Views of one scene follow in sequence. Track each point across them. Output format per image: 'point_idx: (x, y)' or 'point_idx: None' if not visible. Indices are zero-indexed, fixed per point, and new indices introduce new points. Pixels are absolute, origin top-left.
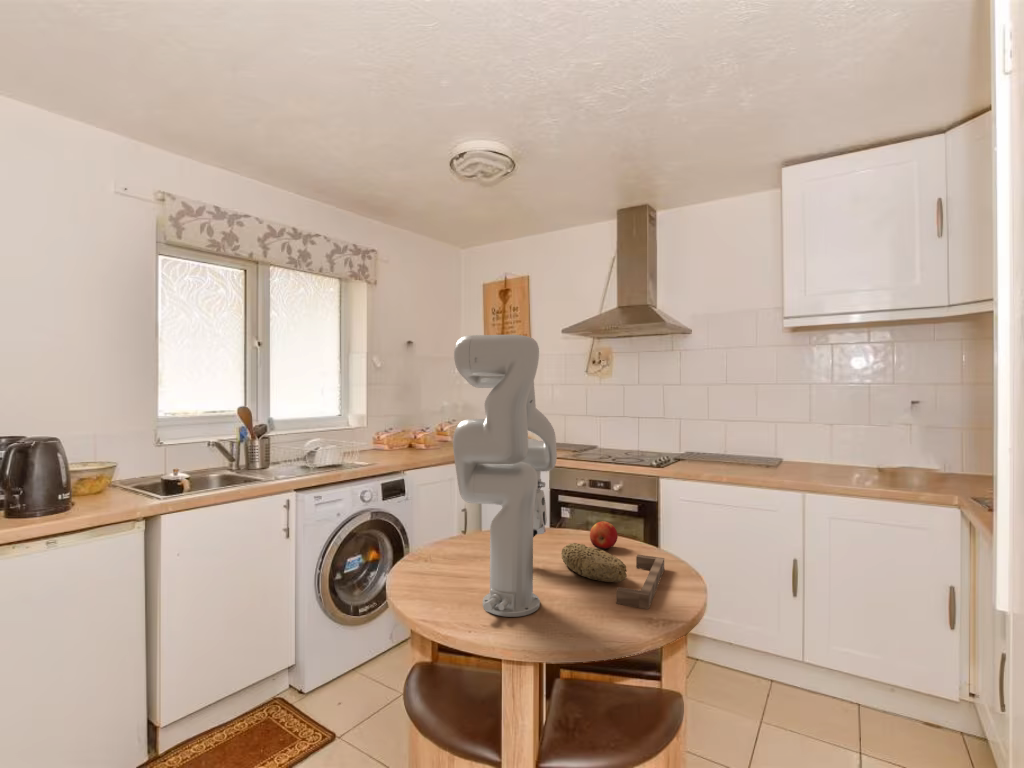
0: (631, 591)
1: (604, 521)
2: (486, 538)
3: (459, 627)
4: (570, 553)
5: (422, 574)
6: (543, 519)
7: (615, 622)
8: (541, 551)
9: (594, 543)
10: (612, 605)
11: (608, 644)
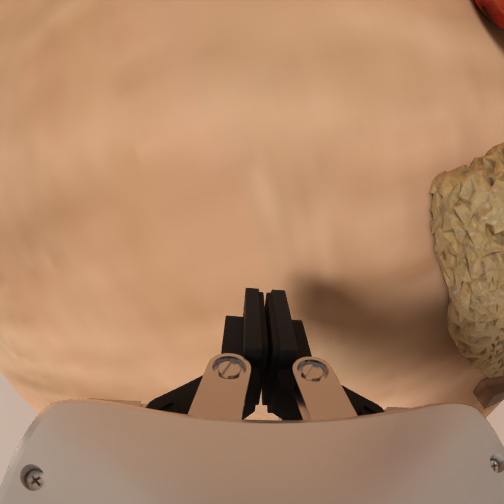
0: (500, 398)
1: None
2: (6, 20)
3: None
4: (480, 325)
5: (36, 388)
6: (482, 444)
7: None
8: (271, 22)
9: (494, 16)
10: (465, 399)
11: None
